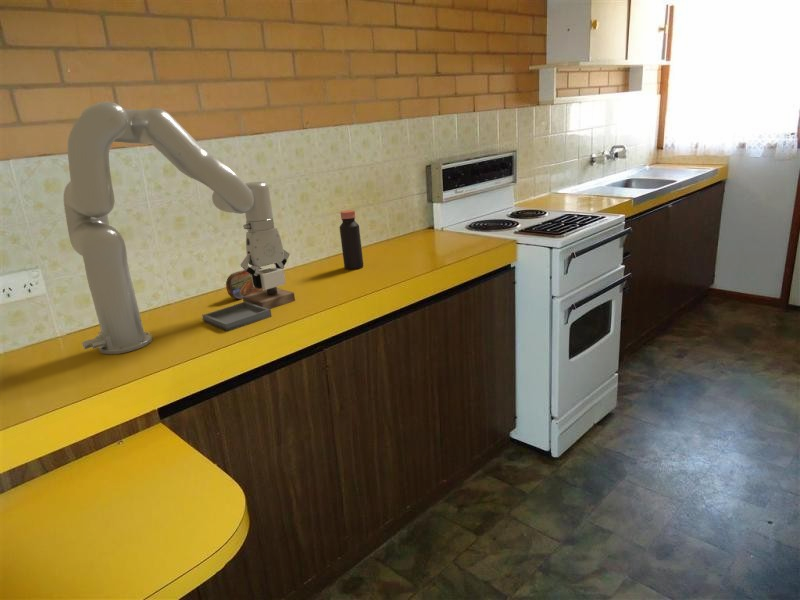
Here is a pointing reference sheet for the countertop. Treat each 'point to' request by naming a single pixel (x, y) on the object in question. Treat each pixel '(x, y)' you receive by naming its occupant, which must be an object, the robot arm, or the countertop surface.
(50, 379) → the countertop surface
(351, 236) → the bottle
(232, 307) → the tray
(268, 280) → the off-white open box
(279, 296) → the wooden stand
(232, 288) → the tin
